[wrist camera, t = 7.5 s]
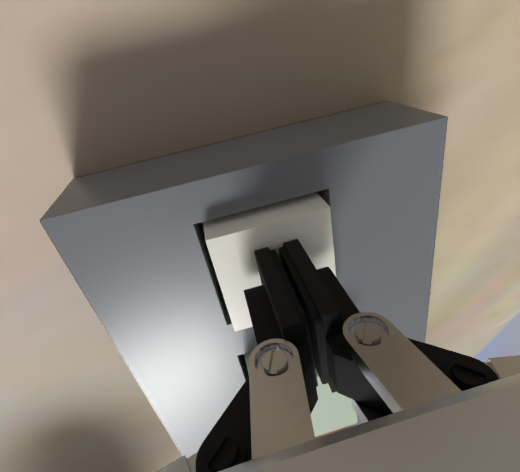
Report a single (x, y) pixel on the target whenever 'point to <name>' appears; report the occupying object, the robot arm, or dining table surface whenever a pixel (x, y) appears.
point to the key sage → (327, 408)
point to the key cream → (265, 245)
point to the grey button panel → (237, 200)
